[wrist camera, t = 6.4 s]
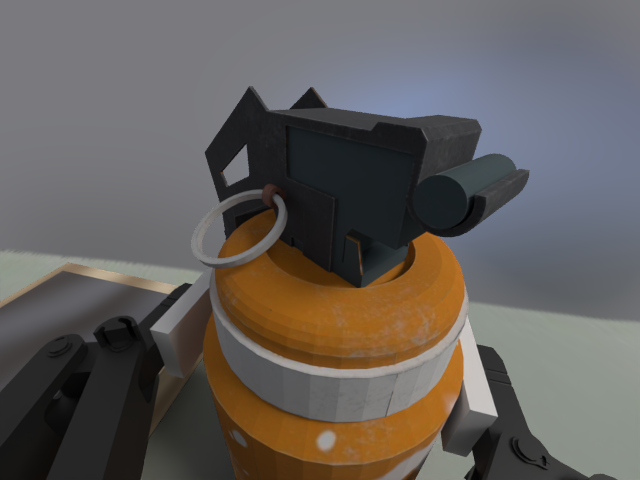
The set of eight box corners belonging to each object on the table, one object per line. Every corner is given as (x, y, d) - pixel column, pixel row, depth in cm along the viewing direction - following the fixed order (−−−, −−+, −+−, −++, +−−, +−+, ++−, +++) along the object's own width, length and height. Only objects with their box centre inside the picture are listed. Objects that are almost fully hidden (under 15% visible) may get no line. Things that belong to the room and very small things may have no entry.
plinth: (226, 323, 25) (220, 291, 23) (41, 597, 12) (-12, 580, 10) (82, 289, 28) (65, 258, 26) (-200, 485, 15) (-283, 453, 13)
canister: (313, 655, 11) (475, 183, 1) (201, 431, 18) (72, 77, 8) (424, 472, 17) (627, 105, 6) (305, 353, 23) (311, 83, 13)
